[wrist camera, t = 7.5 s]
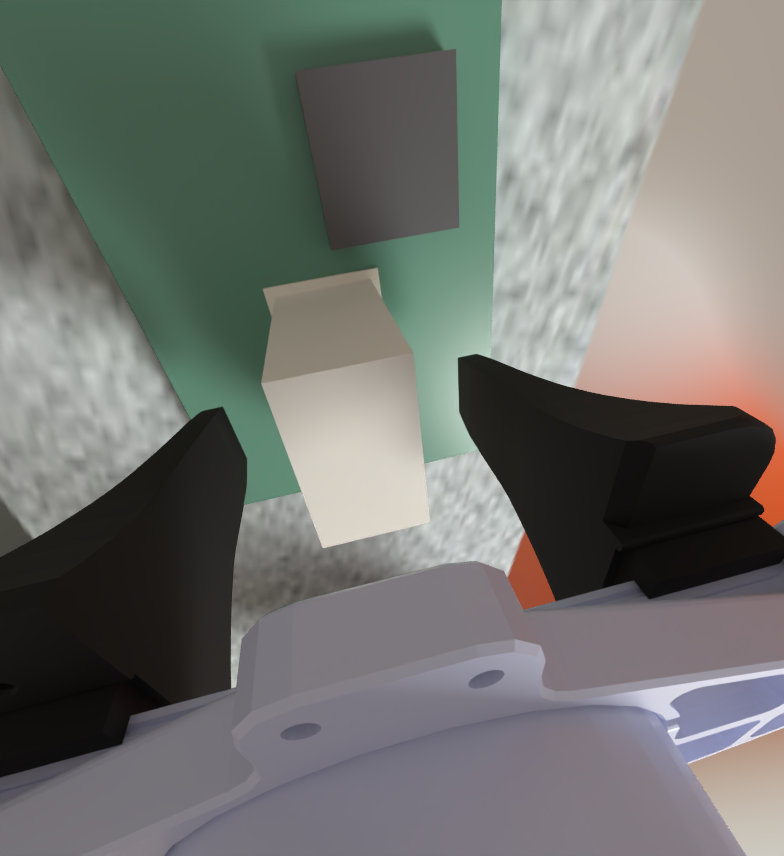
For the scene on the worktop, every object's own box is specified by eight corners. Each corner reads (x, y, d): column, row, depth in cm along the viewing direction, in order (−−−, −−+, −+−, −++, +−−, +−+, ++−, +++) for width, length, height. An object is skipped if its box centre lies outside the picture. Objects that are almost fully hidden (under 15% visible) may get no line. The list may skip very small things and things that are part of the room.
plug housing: (395, 441, 17) (433, 553, 12) (323, 457, 17) (334, 578, 12) (370, 279, 13) (413, 352, 8) (275, 297, 13) (260, 383, 8)
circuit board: (476, 430, 20) (498, 464, 18) (241, 483, 19) (233, 526, 17) (480, -43, 10) (528, -96, 8) (4, 12, 9) (-85, -30, 7)
